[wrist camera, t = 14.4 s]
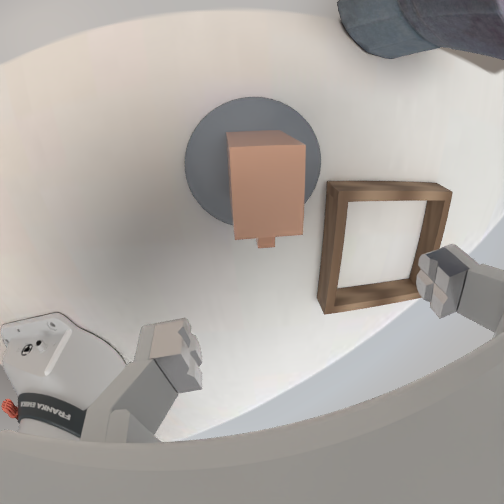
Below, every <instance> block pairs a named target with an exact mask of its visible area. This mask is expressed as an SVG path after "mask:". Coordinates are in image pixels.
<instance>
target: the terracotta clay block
mask: <svg viewBox="0 0 504 504" xmlns="http://www.w3.org/2000/svg"><path fill="white" fill-rule="evenodd" d="M226 141H227V159H228V176H229V192H230V204H231V212H232V220H233V228H234V236H235V240H240V239H252V238H256V242H257V245H258V248H269V247H275V237H278V236H292V235H303V219H304V195H305V159H306V145H305V144H303V143H302V142H300V141H298V140H296V139H295V138H293V137H291V136H289V135H287V134H286V133H284V132H282V131H280V130H262V131H239V132H226Z"/></svg>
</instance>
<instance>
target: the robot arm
mask: <svg viewBox="0 0 504 504" xmlns="http://www.w3.org/2000/svg"><path fill="white" fill-rule="evenodd" d="M418 266H419V267H420V269H421V270H420V271H419V273H418V274H417V280H416V285H417V290H418V292H419V294H420V296H421V297H422V298H423V299H424V300H426V301H429V302H430V308H431V309H432V310H433V311H434V312H435V313H436V315H437V316H438V317H439V319H440V318H443V317H445V316H447V315H450V314H452V313H454V312H457V313H459V314H461V315H463V316H465V317H467V318H469V319H470V320H472V321H474V322H476V323H478V324H480V325H482V326H483V327H485V328H487V329H489V330H491V331H493V332H494V333H495V334H494V336H493V338H492V340H490V341H488V342H487V343H485V344H483V345H482V346H480V347H478V348H477V349H475V350H473V351H472V352H470V353H468V354H466V355H465V356H463V357H461V358H459V359H458V360H456V361H454V362H452V363H450V364H448V365H446V366H444V367H443V368H440V369H439V370H437V371H435V372H432V373H430V374H428V375H426V376H424V377H422V378H420V379H418V380H416V381H414V382H411V383H409V384H407V385H404V386H402V387H400V388H397V389H395V390H393V391H390V392H388V393H386V394H383V395H380V396H378V397H375V398H372V399H370V400H367V401H364V402H362V403H359V404H356V405H353V406H350V407H347V408H344V409H341V410H338V411H334V412H331V413H328V414H325V415H321V416H318V417H314V418H310V419H307V420H303V421H299V422H295V423H292V424H287V425H283V426H278V427H274V428H269V429H264V430H259V431H254V432H248V433H243V434H236V435H230V436H223V437H216V438H208V439H199V440H189V441H175V442H161V441H160V440H159V439H158V438H156V437H155V436H154V434H155V433H156V431H157V429H158V428H159V426H160V424H161V423H162V421H163V419H164V418H165V416H166V414H167V413H168V411H169V409H170V408H171V406H172V404H173V403H174V401H175V399H176V398H177V396H178V394H177V393H183V392H189V391H195V390H201V389H202V372H201V370H200V368H199V366H200V365H201V363H202V353H201V348H200V345H199V342H198V339H197V337H196V336H195V335H193V334H192V333H191V325H190V323H189V321H188V319H186V318H181V319H176V320H170V321H165V322H159V323H155V324H149V325H144V326H143V327H142V328H141V332H140V336H139V340H138V344H137V349H136V353H135V358H134V362H130V363H129V364H128V365H127V366H126V364H125V362H124V361H123V359H122V358H121V356H120V355H119V354H118V353H117V352H116V351H115V350H114V349H113V348H112V347H111V346H110V345H108V344H107V343H106V342H104V341H103V340H101V339H100V338H98V337H97V336H95V335H93V334H91V333H89V332H87V331H85V330H82V329H81V328H79V327H77V326H76V325H75V324H73V323H72V322H71V321H70V320H69V319H68V318H66V317H65V316H64V315H62V314H60V313H52V314H48V315H44V316H39V317H35V318H30V319H26V320H21V321H17V322H12V323H8V324H4V325H2V327H1V336H2V339H3V341H4V344H5V346H6V351H5V353H4V356H3V368H4V371H5V373H6V375H7V377H8V379H9V381H10V383H11V385H12V386H13V389H14V390H15V392H16V394H17V396H18V408H17V407H16V406H15V405H14V404H13V402H12V401H11V400H10V399H6V401H3V402H4V403H2V410H3V411H4V412H6V413H7V414H8V415H9V417H11V418H16V419H17V420H18V422H19V427H18V431H17V432H16V431H11V430H1V431H0V504H504V270H500V269H498V268H494V267H491V266H488V265H485V264H481V265H479V264H478V263H477V262H476V261H475V260H474V259H472V258H471V257H470V256H469V255H468V254H466V253H465V252H464V251H463V250H461V249H460V248H459V247H458V246H456V245H454V244H450V245H447V246H444V247H442V248H440V249H437V250H434V251H431V252H428V253H425V254H422V255H421V256H420V258H419V263H418Z"/></svg>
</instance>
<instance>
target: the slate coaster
mask: <svg viewBox="0 0 504 504" xmlns="http://www.w3.org/2000/svg"><path fill="white" fill-rule="evenodd" d="M262 130H280V131H282V132H284V133H286V134H287V135H289V136H291V137H293V138H295V139H296V140H298V141H300V142H302V143H303V144H305V145H306V159H305V195H304V204H305V203H306V201H307V200H308V199H309V197H310V196H311V194H312V192H313V190H314V189H315V186H316V184H317V181H318V178H319V174H320V167H321V154H320V148H319V144H318V141H317V138H316V136H315V134H314V132H313V130H312V128H311V127H310V125H309V124H308V122H307V121H306V120H305V119H304V118H303V117H302V116H301V115H300V114H299V113H298V112H297V111H295V110H294V109H292V108H291V107H289V106H288V105H285V104H283V103H281V102H279V101H276V100H273V99H268V98H262V97H247V98H240V99H236V100H232V101H229V102H227V103H224V104H222V105H221V106H219V107H217V108H215V109H214V110H213V111H211V112H210V113H209V114H208V115H207V116H206V117H205V118H204V119H203V120H202V121H201V122H200V123H199V125H198V126H197V127H196V129H195V130H194V132H193V134H192V136H191V138H190V140H189V143H188V146H187V150H186V155H185V173H186V179H187V182H188V185H189V188H190V190H191V192H192V194H193V196H194V197H195V199H196V200H197V202H198V203H199V204H200V205H201V206H202V208H203V209H204V210H206V211H207V212H208V213H209V214H210V215H212V216H213V217H215V218H216V219H218V220H220V221H222V222H224V223H227V224H230V225H233V220H232V212H231V204H230V192H229V176H228V159H227V141H226V132H239V131H262Z"/></svg>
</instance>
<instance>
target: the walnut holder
mask: <svg viewBox="0 0 504 504" xmlns="http://www.w3.org/2000/svg"><path fill="white" fill-rule="evenodd" d="M451 197H452V191H450V190H448V189H446V188H445V187H443V186H441V185H439V184H437V183H427V182H398V181H327V194H326V209H325V222H324V235H323V246H322V256H321V266H320V275H319V284H318V293H317V299H318V302H319V304H320V306H321V308H322V311H323V313H324V315H325V314H331V313H338V312H345V311H351V310H357V309H363V308H369V307H375V306H381V305H386V304H391V303H397V302H402V301H407V300H412V299H417V298H422V297H421V296H420V294H419V292H418V290H417V285H416V280H417V274H418V273H419V271H420V270H421V269H420V267H419V266H418V263H419V258H420V256H421V255H422V254H425V253H428V252H431V251H434V250H437V249H439V248H440V245H441V241H442V237H443V233H444V229H445V225H446V221H447V216H448V212H449V207H450V202H451ZM405 200H427V206H426V211H425V216H424V221H423V226H422V230H421V235H420V239H419V243H418V247H417V251H416V255H415V259H414V263H413V266H412V270H411V274H410V277H409V279H402V280H396V281H389V282H383V283H376V284H369V285H362V286H354V287H347V288H339V289H337V285H338V279H339V272H340V265H341V258H342V251H343V243H344V235H345V227H346V218H347V208H348V202H353V201H405Z"/></svg>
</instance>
